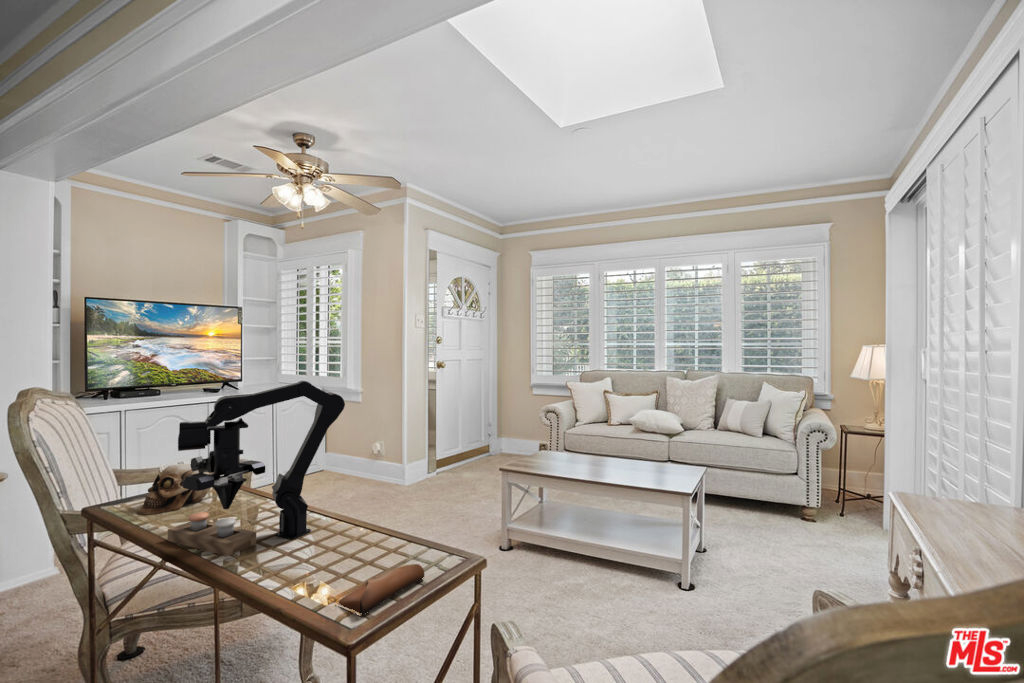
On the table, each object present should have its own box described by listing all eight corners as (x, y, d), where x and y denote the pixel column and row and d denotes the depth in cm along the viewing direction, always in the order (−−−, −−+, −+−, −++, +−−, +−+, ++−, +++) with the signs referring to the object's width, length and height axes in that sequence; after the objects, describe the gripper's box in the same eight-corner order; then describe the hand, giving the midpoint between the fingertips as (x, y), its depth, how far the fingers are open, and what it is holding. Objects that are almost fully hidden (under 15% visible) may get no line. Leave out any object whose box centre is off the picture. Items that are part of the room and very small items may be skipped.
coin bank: (132, 514, 147) (137, 467, 149) (163, 502, 164) (168, 460, 166) (189, 514, 149) (194, 468, 151) (215, 502, 166) (219, 461, 168)
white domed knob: (239, 533, 127) (239, 519, 127) (223, 539, 123) (223, 525, 123) (227, 531, 129) (227, 516, 129) (211, 537, 125) (211, 522, 125)
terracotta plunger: (212, 527, 131) (212, 513, 131) (195, 533, 127) (196, 519, 127) (201, 524, 133) (201, 511, 133) (184, 530, 129) (184, 516, 129)
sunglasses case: (395, 570, 114) (407, 548, 112) (416, 593, 111) (428, 570, 109) (331, 606, 98) (344, 580, 97) (353, 633, 95) (366, 608, 94)
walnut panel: (256, 544, 128) (256, 532, 128) (227, 556, 120) (227, 543, 120) (197, 530, 136) (198, 519, 136) (167, 540, 129) (167, 529, 129)
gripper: (237, 437, 138) (237, 494, 138) (167, 450, 121) (167, 515, 121) (267, 441, 134) (266, 499, 134) (199, 455, 117) (198, 522, 117)
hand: (226, 508), depth 126 cm, fingers closed
